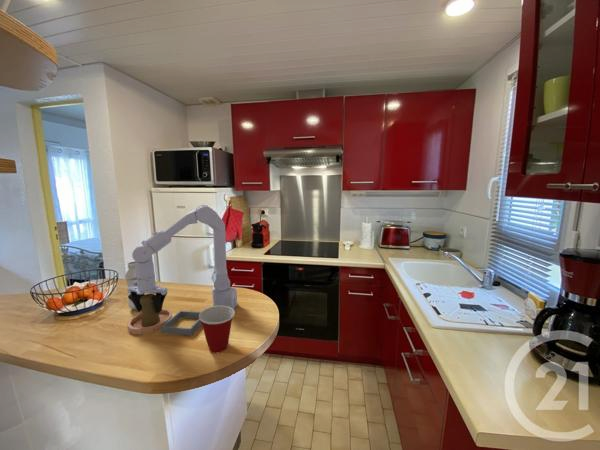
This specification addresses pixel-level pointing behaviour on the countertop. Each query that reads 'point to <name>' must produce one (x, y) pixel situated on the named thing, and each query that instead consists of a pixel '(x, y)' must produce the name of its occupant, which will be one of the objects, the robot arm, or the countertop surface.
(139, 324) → the dish
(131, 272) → the plastic bottle
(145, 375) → the countertop surface
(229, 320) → the plastic cup
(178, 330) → the parts tray
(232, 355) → the countertop surface
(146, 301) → the olive rounded piece
